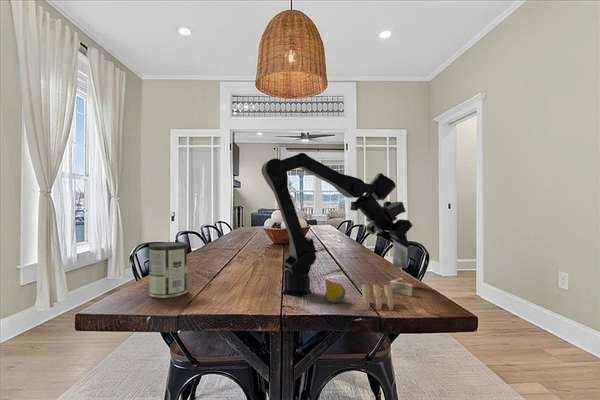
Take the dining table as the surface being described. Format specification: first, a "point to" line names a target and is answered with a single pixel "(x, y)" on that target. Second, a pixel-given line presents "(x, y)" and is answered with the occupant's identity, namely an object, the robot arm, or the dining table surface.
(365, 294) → the ammunition
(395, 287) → the v block
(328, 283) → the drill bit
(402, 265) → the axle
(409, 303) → the dining table surface
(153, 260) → the coffee can
